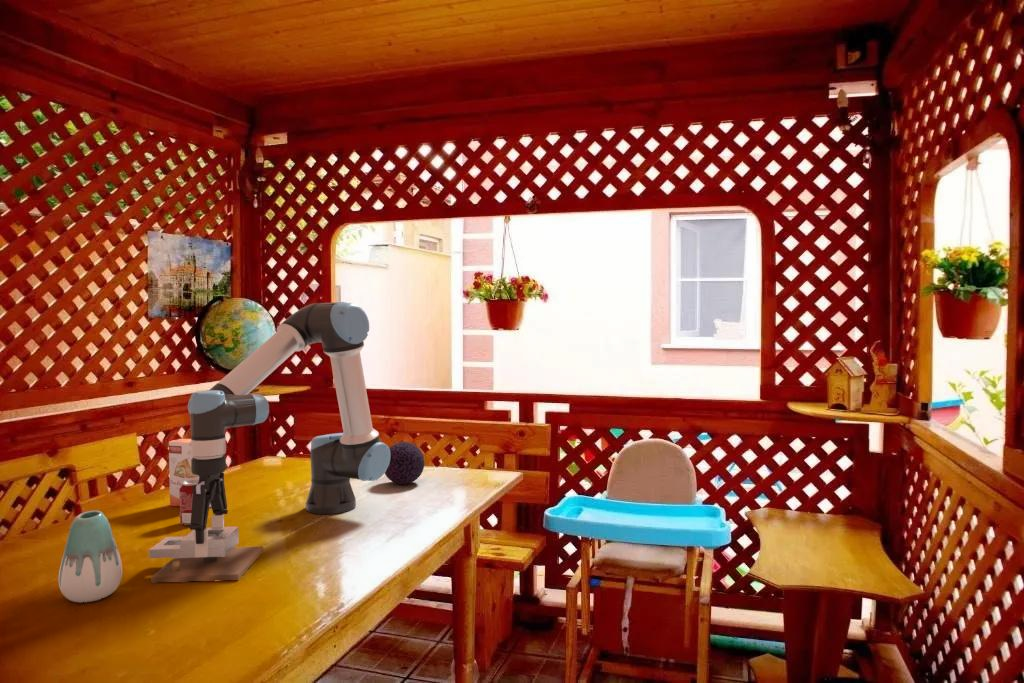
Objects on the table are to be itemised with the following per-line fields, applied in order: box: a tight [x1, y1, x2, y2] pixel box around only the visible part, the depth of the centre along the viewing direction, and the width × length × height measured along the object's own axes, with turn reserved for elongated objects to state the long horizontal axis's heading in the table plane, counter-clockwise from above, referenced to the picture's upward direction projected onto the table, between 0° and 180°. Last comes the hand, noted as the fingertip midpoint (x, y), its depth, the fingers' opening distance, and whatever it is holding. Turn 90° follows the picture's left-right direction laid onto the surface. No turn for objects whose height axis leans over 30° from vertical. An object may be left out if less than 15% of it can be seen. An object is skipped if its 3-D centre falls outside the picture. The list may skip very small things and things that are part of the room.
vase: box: [58, 510, 123, 604], centre depth 147 cm, size 12×12×18 cm
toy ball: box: [384, 441, 426, 485], centre depth 247 cm, size 15×15×15 cm
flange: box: [148, 526, 240, 559], centre depth 164 cm, size 17×10×4 cm, turn 94°
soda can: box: [179, 480, 199, 526], centre depth 200 cm, size 7×7×12 cm
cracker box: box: [168, 438, 212, 509], centre depth 218 cm, size 14×6×21 cm, turn 70°
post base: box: [150, 534, 264, 584], centre depth 164 cm, size 19×19×8 cm
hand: (210, 548), depth 164 cm, fingers closed on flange, 10 cm apart
